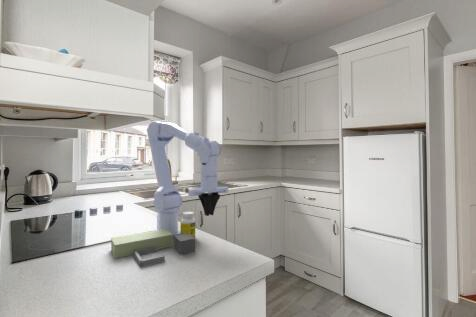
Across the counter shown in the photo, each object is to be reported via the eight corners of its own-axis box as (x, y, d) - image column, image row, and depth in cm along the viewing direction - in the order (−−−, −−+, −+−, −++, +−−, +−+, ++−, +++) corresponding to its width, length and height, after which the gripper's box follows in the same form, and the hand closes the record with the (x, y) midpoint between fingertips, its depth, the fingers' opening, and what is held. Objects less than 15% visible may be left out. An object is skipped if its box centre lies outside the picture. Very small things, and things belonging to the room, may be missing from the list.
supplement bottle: (192, 242, 90) (192, 215, 90) (178, 241, 91) (177, 214, 91) (197, 237, 95) (197, 211, 95) (184, 236, 96) (184, 210, 96)
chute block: (173, 249, 84) (173, 235, 84) (188, 246, 87) (188, 233, 87) (180, 255, 79) (180, 241, 79) (195, 252, 82) (195, 238, 82)
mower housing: (111, 249, 82) (111, 237, 82) (165, 239, 92) (165, 228, 92) (120, 271, 68) (120, 257, 68) (184, 256, 78) (184, 243, 78)
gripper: (194, 178, 80) (194, 220, 80) (233, 175, 88) (232, 214, 88) (185, 176, 86) (185, 215, 86) (222, 174, 94) (222, 210, 94)
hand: (209, 214), depth 87 cm, fingers closed
